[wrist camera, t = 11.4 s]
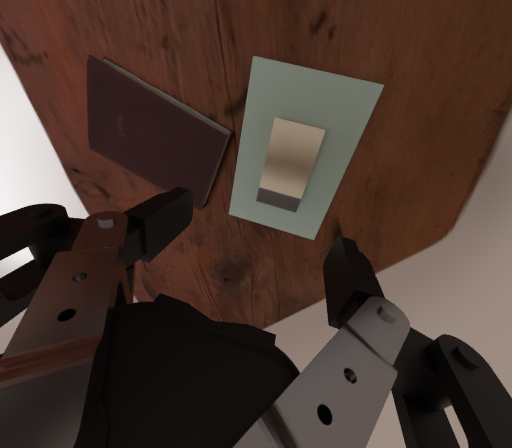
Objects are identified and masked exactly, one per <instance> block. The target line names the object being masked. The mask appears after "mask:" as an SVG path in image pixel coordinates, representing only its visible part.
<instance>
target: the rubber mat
mask: <svg viewBox="0 0 512 448" xmlns="http://www.w3.org/2000/svg"><path fill="white" fill-rule="evenodd" d="M383 87H384V85H382V84H378V83H373V82H369V81H364V80H360V79H355V78H351V77H346V76H342V75H337V74H333V73H328V72H324V71H319V70H315V69H310V68H306V67H301V66H297V65H292V64H288V63H283V62H279V61H274V60H270V59H266V58H261V57H257V56H253V61H252V67H251V74H250V80H249V87H248V93H247V100H246V106H245V113H244V119H243V126H242V132H241V139H240V145H239V152H238V158H237V165H236V171H235V178H234V184H233V191H232V197H231V204H230V210H229V214H230V215H233V216H237V217H240V218H243V219H246V220H250V221H253V222H256V223H259V224H263V225H266V226H269V227H273V228H276V229H279V230H282V231H286V232H289V233H292V234H295V235H299V236H302V237H305V238H308V239H312V240H314V239H315V236H316V234H317V232H318V230H319V228H320V225H321V223H322V221H323V219H324V217H325V214H326V212H327V210H328V208H329V206H330V204H331V201H332V199H333V197H334V195H335V193H336V190H337V188H338V186H339V184H340V182H341V179H342V177H343V175H344V173H345V171H346V168H347V166H348V164H349V162H350V160H351V157H352V155H353V153H354V151H355V149H356V146H357V144H358V142H359V140H360V138H361V135H362V133H363V131H364V129H365V127H366V125H367V122H368V120H369V118H370V116H371V114H372V111H373V109H374V107H375V105H376V103H377V100H378V98H379V96H380V94H381V92H382V89H383ZM275 117H280V118H284V119H288V120H292V121H296V122H300V123H304V124H308V125H312V126H317V127H321V128H324V129H325V130H326V131H325V134H324V137H323V139H322V142H321V145H320V148H319V151H318V153H317V156H316V159H315V162H314V164H313V167H312V170H311V173H310V176H309V178H308V181H307V184H306V187H305V190H304V192H303V195H302V198H301V201H300V204H299V206H298V209H297V212H296V213H295V212H291V211H288V210H285V209H281V208H278V207H274V206H271V205H268V204H264V203H261V202H257V201H256V199H257V194H258V190H259V186H260V181H261V177H262V172H263V168H264V163H265V159H266V155H267V150H268V146H269V141H270V137H271V132H272V128H273V124H274V119H275Z"/></svg>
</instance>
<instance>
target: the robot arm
mask: <svg viewBox="0 0 512 448" xmlns="http://www.w3.org/2000/svg"><path fill="white" fill-rule="evenodd" d="M193 197H194V195H193V191H192V190H188V189H185V188H182V187H176V188H174V189H173V190H171V191H169V192H166V193H161V194H157V195H155V196H153V197H152V198H150V199H148V200H146V201H144V203H140V204H138V205H137V206H135V207H133V208H131V209H129V210H127V211H125V212H123V213H121V212H117V211H104V212H98V213H95V214H92V215H90V216H88V217H87V218H86V219H79V218H69V217H68V214H67V212H66V209H65V207H63V206H61V205H58V204H36V205H31V206H27V207H24V208H21V209H18V210H15V211H12V212H9V213H7V214H4V215H1V216H0V260H2V259H4V258H6V257H8V256H10V255H12V254H14V253H16V252H18V251H20V250H22V249H24V248H26V247H29V249H30V251H31V253H32V255H33V257H34V260H32V261H30V262H28V263H26V264H25V265H23V266H21V267H19V268H18V269H16V270H14V271H12V272H11V273H9V274H7V275H5V276H4V277H2V278H0V327H2V326H3V325H4V324H6V323H7V322H8V321H10V320H11V319H13V318H14V317H15V316H17V315H18V314H19V313H20V312H22V311H23V310H25V309H26V308H27V307H28V308H27V310H26V312H25V314H24V316H23V318H22V319H21V321H20V323H19V325H18V327H17V329H16V331H15V333H14V335H13V337H12V339H11V341H10V342H9V344H8V346H7V348H6V350H5V352H4V353H3V354H0V448H366V445H367V443H368V441H369V439H370V436H371V434H372V432H373V429H374V427H375V425H376V422H377V420H378V418H379V416H380V413H381V411H382V409H383V407H384V404H385V402H386V399H387V397H388V395H389V392H390V391H392V394H393V398H394V402H395V406H396V410H397V414H398V418H399V421H400V425H401V429H402V433H403V437H404V441H405V445H406V448H460V446H459V444H458V442H457V439H456V437H455V435H454V432H453V430H452V427H451V425H450V423H449V420H448V418H447V415H446V413H445V411H444V408H446V407H448V406H450V405H452V406H453V408H454V411H455V412H456V415H457V417H458V419H459V422H460V424H461V426H462V428H463V430H464V433H465V435H466V437H467V440H468V445H469V448H512V398H511V396H510V395H509V393H508V392H507V391H506V389H505V388H504V386H503V385H502V383H501V382H500V380H499V379H498V377H497V376H496V374H495V373H494V371H493V370H492V369H491V367H490V366H489V364H488V363H487V362H486V361H485V360H484V358H483V357H481V355H480V354H479V353H477V352H476V351H475V350H474V349H473V348H472V347H470V346H469V345H468V344H466V343H465V342H463V341H462V340H460V339H458V338H456V337H454V336H451V335H446V334H444V335H441V336H439V337H438V338H437V339H435V340H432V339H430V338H429V337H426V336H425V335H423V334H422V333H420V332H418V331H416V330H414V329H413V328H411V327H410V323H409V320H408V318H407V317H406V316H405V314H404V313H403V312H402V311H401V310H400V309H399V308H398V307H397V306H396V305H395V304H393V303H392V302H390V301H389V300H387V299H385V297H384V294H383V292H382V290H381V287H380V285H379V282H378V280H377V278H376V277H375V276H376V275H375V273H374V271H373V268H372V266H371V263H370V261H369V260H368V259H367V258H366V256H365V255H364V254H363V253H361V252H359V250H358V247H357V245H356V242H355V241H354V240H351V239H348V238H345V237H342V236H338V237H337V238H336V240H335V242H334V244H333V246H332V247H331V249H330V251H329V253H328V255H327V257H326V259H325V261H324V265H323V274H324V284H325V294H326V303H327V313H328V323H329V326H332V327H334V328H337V329H339V331H338V332H337V333H336V334H335V336H333V338H332V339H331V340H330V341H329V342H328V343H327V344H326V346H325V347H324V348H323V349H322V350H321V351H320V352H319V353H318V354H317V355H316V357H315V358H314V359H313V360H312V361H311V362H310V363H309V364H308V366H307V367H306V368H305V369H304V370H303V371H302V372H301V373H300V372H299V370H298V369H297V367H296V366H295V365H294V363H293V362H292V361H291V360H290V359H289V358H288V356H287V355H286V354H285V353H284V352H282V351H281V350H280V349H279V348H278V347H276V346H275V338H276V335H275V334H272V333H269V332H267V331H264V330H261V329H259V328H256V327H253V326H250V325H247V324H239V323H228V322H217V321H213V320H211V319H209V318H208V317H207V316H205V315H204V314H202V313H201V312H199V311H198V310H197V309H195V308H194V307H192V306H191V305H190V304H188V303H186V302H183V301H180V300H178V299H175V298H172V297H169V296H166V295H164V294H161V293H160V294H159V295H158V297H157V298H156V299H155V300H154V302H137V303H133V294H134V281H135V262H136V261H137V260H139V259H140V260H143V261H146V262H150V261H151V260H152V259H153V258H155V257H156V256H157V255H158V254H159V253H160V252H161V251H162V250H163V249H164V248H165V247H166V246H167V245H168V244H170V243H171V242H172V241H173V240H174V239H175V238H176V237H177V236H178V235H179V234H180V233H181V232H182V231H183V230H184V229H186V228H187V227H188V226H189V224H190V223H191V220H192V216H193Z"/></svg>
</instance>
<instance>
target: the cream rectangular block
mask: <svg viewBox="0 0 512 448" xmlns="http://www.w3.org/2000/svg"><path fill="white" fill-rule="evenodd" d="M325 131H326V130H325V129H324V128H321V127H317V126H312V125H308V124H304V123H300V122H296V121H292V120H288V119H284V118H280V117H275V119H274V124H273V128H272V132H271V137H270V141H269V146H268V150H267V155H266V159H265V163H264V168H263V172H262V177H261V181H260V186H259V190H258V194H257V199H256V201H257V202H261V203H264V204H268V205H271V206H274V207H278V208H281V209H285V210H288V211H291V212H295V213H296V212H297V209H298V206H299V204H300V201H301V198H302V195H303V192H304V190H305V187H306V184H307V181H308V178H309V176H310V173H311V170H312V167H313V164H314V162H315V159H316V156H317V153H318V151H319V148H320V145H321V142H322V139H323V137H324V134H325Z"/></svg>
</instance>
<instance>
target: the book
mask: <svg viewBox="0 0 512 448" xmlns="http://www.w3.org/2000/svg"><path fill="white" fill-rule="evenodd" d="M103 59H104V60H102V61H101V60H98V59H97V58H95V57H93V56H91V55H89V56H88V61H87V95H88V98H87V113H88V138H89V147H90V149H92V150H93V151H95V152H96V153H98V154H100V155H102V156H104V157H106V158H108V159H109V160H111V161H113V162H115V163H116V164H118V165H120V166H122V167H124V168H125V169H127V170H129V171H131V172H133V173H134V174H136V175H138V176H140V177H142V178H143V179H145V180H147V181H149V182H150V183H152V184H154V185H156V186H158V187H160V188H161V189H163V190H165V191H166V192H169V191H171V190H173V189H174V188H176V187H182V188H185V189H188V190H192V191H193V195H194V197H193V207H195V208H197V209H199V210H202V209H203V208H204V207H205V206H206V205H207V202H206V200H207V197H208V194H209V192H210V190H212V189H213V186H214V183H215V181H216V178H217V176H218V174H219V171H220V168H221V166H222V163H223V160H224V157H225V155H226V152H227V150H228V147H229V144H230V141H231V138H232V135H233V132H232V131H231V130H229V129H227V128H226V127H224V126H222V125H221V124H219V123H217V122H215V121H213V120H212V119H210V118H208V117H207V116H205V115H203V114H201V113H199V112H198V111H196V110H194V109H192V108H190V107H188V106H186V105H185V104H183V103H181V102H179V101H177V100H176V99H174V98H172V97H170V96H169V95H167V94H165V93H163V92H162V91H160V90H158V89H156V88H154V87H153V86H151V85H149V84H147V83H146V82H144V81H142V80H141V79H139V78H137V77H136V76H134V75H133V74H131V73H130V72H128V71H126V70H125V69H123V68H122V67H120V66H118V65H117V64H115V63H113V62H112V61H110V60H109V59H107V58H105V57H103Z"/></svg>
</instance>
